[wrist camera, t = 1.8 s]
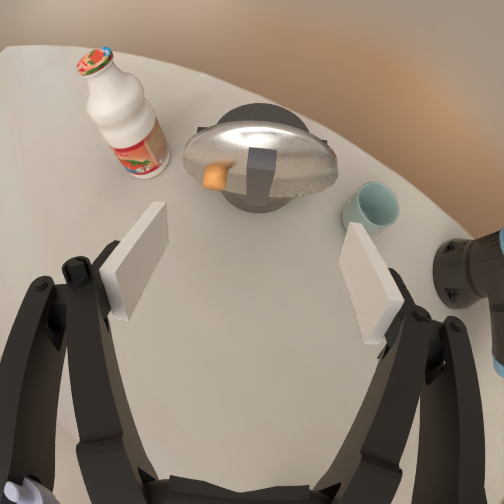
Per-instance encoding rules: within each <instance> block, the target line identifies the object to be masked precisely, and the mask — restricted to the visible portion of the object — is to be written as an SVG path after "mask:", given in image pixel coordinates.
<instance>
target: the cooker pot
mask: <svg viewBox="0 0 504 504" xmlns="http://www.w3.org/2000/svg"><path fill="white" fill-rule="evenodd" d="M234 121H267V122H273V123H280V124H284V125H288V126H292V127H295V128H298V129H301V130H304V131H306V132H308V133H309V130H308V129H307V127H306V125H305V124H304V123H303V122H302V121H301V120H300V119H299V118H298V117H297V116H296V115H295V114H293V113H292V112H290V111H289V110H286V109H284V108H282V107H279V106H276V105H272V104H265V103H253V104H247V105H243V106H240V107H237V108H235V109H233V110H231V111H230V112H228V113H227V114H225V115H224V116H223V117H222V118H221V119H220V120H219V121H218V123H217V124H222V123H227V122H234ZM217 124H216V125H217ZM206 128H208V127H198V130H197V133H198V132H199V131H201V130H204V129H206ZM322 141H324V142H325V143H326V144H327V140H322ZM221 192H222V194H223V195H224V197H225V198H226V199H227V200H228V201H229V202H230V203H231V204H233V205H234V206H236V207H237V208H239V209H241V210H244V211H247V212H252V213H266V212H271V211H274V210H276V209H279V208H281V207H282V206H284V205H285V204H286V203H287V202H288V201H289V200H290V199H291V198H292V197H268V201H267V204H266V207H265V206H255V205H246V195H243V194H238V193H233V192H228V191H225V190H221Z"/></svg>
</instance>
